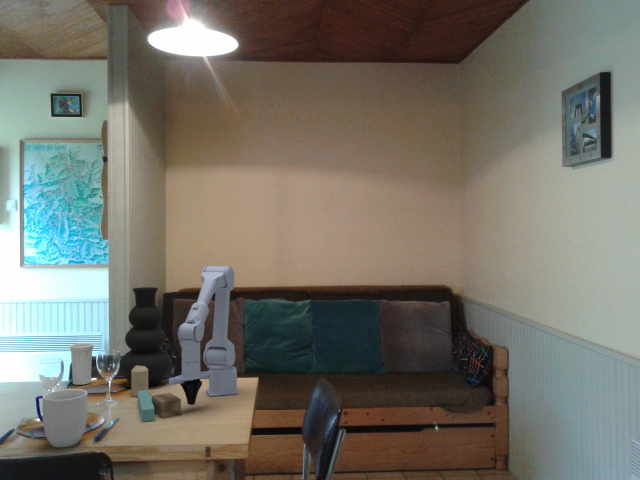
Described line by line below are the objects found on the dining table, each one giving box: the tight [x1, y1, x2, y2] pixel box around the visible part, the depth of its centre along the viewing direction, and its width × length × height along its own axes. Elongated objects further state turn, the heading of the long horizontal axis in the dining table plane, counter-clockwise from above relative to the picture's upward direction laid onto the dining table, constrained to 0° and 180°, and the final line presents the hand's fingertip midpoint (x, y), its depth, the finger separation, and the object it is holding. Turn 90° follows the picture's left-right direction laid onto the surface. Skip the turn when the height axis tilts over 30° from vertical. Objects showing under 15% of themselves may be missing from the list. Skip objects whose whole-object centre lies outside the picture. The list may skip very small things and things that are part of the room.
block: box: [151, 392, 182, 419], centre depth 182 cm, size 6×9×5 cm, turn 35°
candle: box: [130, 365, 149, 398], centre depth 202 cm, size 6×6×10 cm
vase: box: [118, 286, 172, 387], centre depth 217 cm, size 18×18×35 cm
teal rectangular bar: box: [137, 389, 155, 423], centre depth 184 cm, size 4×22×4 cm, turn 21°
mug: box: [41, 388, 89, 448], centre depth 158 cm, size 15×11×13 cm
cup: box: [69, 342, 94, 386], centre depth 217 cm, size 8×8×14 cm
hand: (191, 404), depth 185 cm, fingers closed
